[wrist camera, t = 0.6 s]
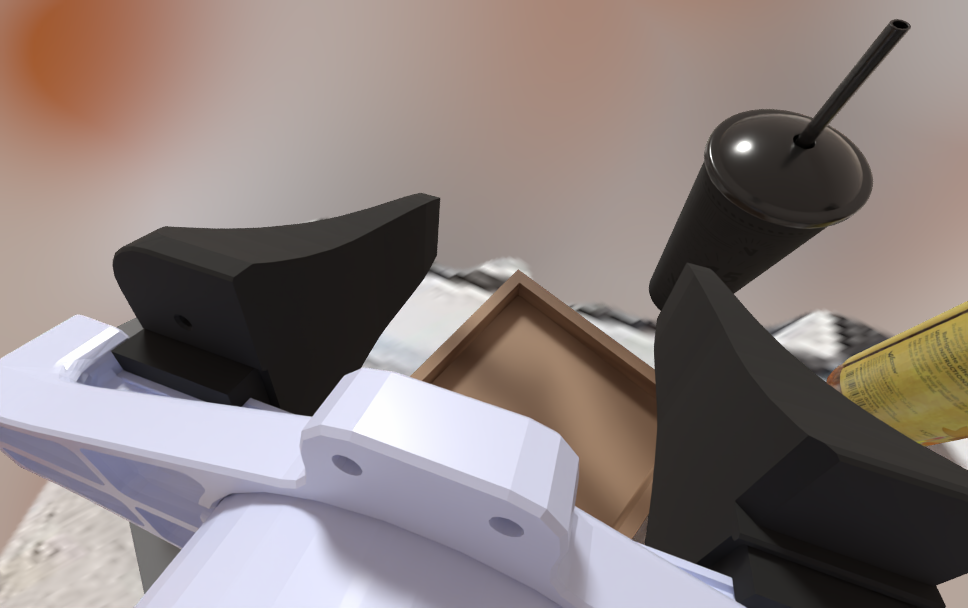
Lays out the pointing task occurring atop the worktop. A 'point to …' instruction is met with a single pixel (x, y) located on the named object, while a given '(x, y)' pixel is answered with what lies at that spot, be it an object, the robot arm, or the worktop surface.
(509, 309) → the tray
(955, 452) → the worktop surface
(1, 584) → the worktop surface
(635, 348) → the worktop surface
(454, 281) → the worktop surface
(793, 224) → the drinking cup
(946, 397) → the sauce bottle
